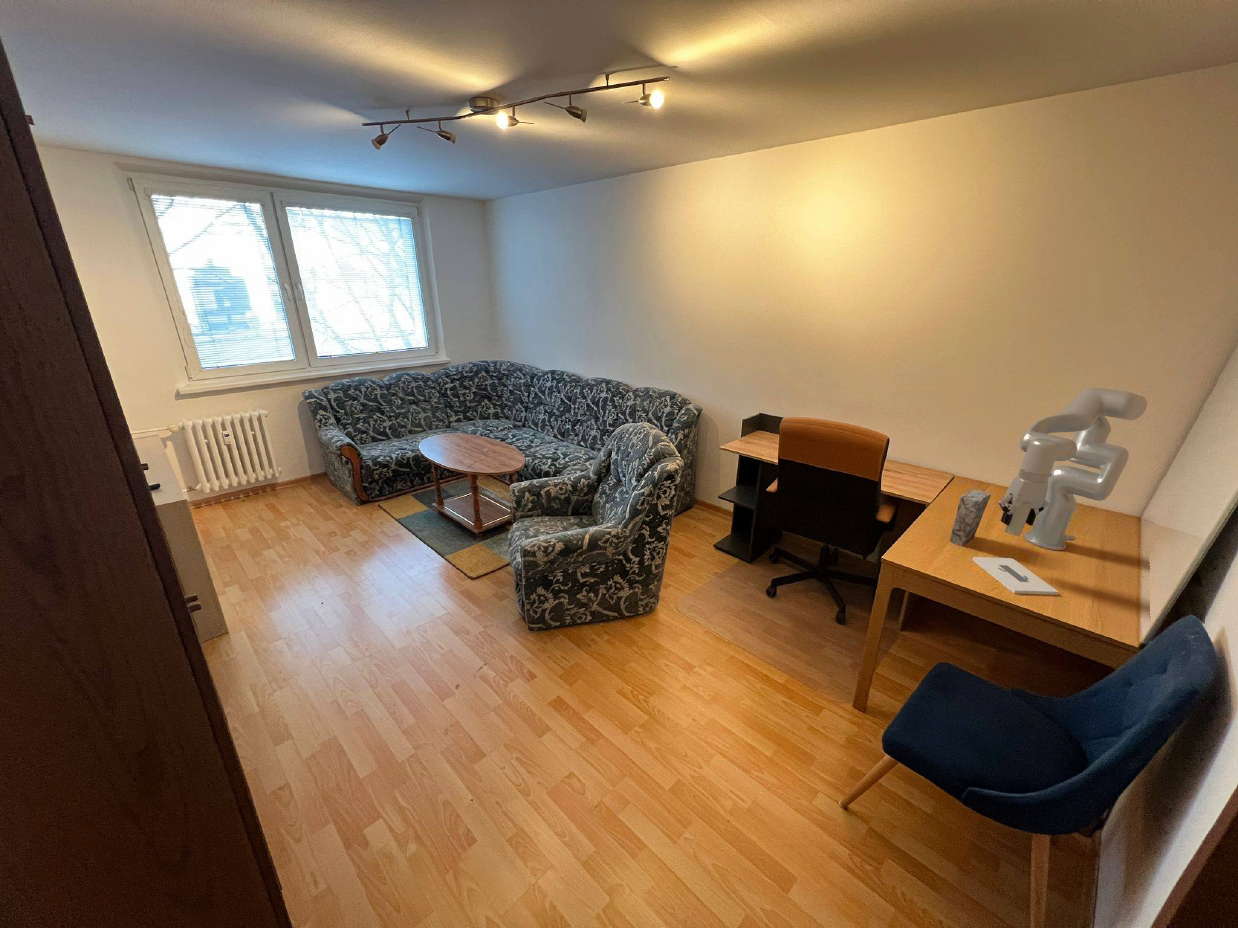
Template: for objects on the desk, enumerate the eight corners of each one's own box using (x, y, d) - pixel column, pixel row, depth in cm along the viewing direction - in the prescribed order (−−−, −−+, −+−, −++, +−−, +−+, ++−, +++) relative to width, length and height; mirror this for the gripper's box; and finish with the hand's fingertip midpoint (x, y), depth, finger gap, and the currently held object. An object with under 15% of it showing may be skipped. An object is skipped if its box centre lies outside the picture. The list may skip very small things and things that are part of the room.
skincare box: (1007, 526, 167) (1018, 495, 163) (1023, 531, 164) (1034, 499, 160) (1003, 532, 163) (1014, 500, 159) (1019, 537, 160) (1031, 504, 156)
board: (1011, 561, 172) (1012, 558, 172) (1057, 594, 154) (1058, 591, 153) (972, 559, 172) (973, 556, 172) (1013, 593, 154) (1015, 590, 153)
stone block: (967, 548, 180) (983, 501, 173) (946, 541, 185) (961, 495, 178) (977, 537, 188) (992, 491, 181) (956, 531, 193) (970, 486, 186)
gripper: (1050, 472, 159) (1033, 519, 166) (998, 471, 160) (983, 517, 166) (1069, 481, 152) (1050, 529, 159) (1015, 479, 153) (998, 528, 159)
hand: (1016, 523), depth 162 cm, fingers closed on skincare box, 7 cm apart
